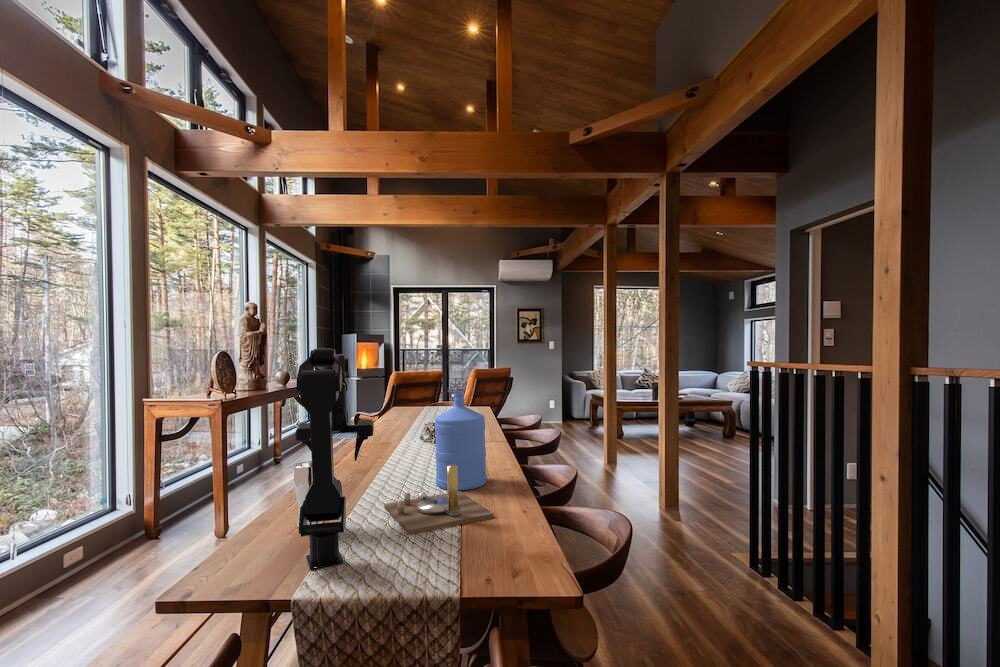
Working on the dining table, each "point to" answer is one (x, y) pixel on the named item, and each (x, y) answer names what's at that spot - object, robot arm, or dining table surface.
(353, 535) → the dining table surface
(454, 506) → the dial
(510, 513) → the dining table surface
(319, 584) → the dining table surface
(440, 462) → the water jug
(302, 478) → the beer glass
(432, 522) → the walnut board
